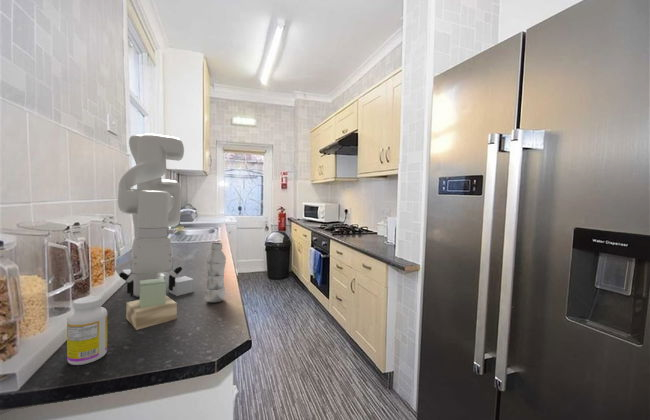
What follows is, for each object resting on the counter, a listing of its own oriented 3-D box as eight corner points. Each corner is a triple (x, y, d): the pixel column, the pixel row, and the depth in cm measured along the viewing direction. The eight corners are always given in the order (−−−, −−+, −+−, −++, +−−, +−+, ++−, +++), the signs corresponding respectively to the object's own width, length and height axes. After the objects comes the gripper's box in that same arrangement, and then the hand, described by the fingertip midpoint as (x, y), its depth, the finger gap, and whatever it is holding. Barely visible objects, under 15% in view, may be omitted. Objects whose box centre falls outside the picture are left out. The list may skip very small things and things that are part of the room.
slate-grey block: (168, 292, 103) (169, 279, 103) (185, 288, 108) (185, 276, 108) (176, 296, 99) (177, 282, 99) (193, 292, 104) (193, 279, 104)
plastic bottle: (225, 297, 100) (226, 242, 99) (224, 304, 93) (226, 245, 93) (206, 298, 98) (207, 242, 97) (203, 305, 91) (205, 245, 91)
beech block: (126, 319, 80) (126, 302, 80) (164, 310, 88) (164, 294, 87) (136, 331, 73) (136, 312, 73) (176, 319, 81) (176, 302, 81)
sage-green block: (139, 300, 81) (139, 280, 81) (163, 297, 85) (163, 277, 84) (140, 307, 76) (140, 286, 76) (165, 303, 80) (165, 283, 80)
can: (137, 299, 94) (138, 264, 94) (129, 294, 99) (129, 261, 98) (161, 294, 100) (161, 261, 100) (152, 289, 105) (153, 258, 104)
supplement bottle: (88, 348, 64) (89, 293, 64) (114, 350, 63) (115, 295, 63) (57, 365, 57) (58, 303, 57) (86, 368, 57) (87, 306, 56)
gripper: (183, 230, 88) (182, 284, 89) (115, 233, 78) (114, 293, 78) (188, 233, 82) (187, 291, 82) (115, 236, 72) (114, 301, 72)
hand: (151, 292), depth 80 cm, fingers open, 9 cm apart
